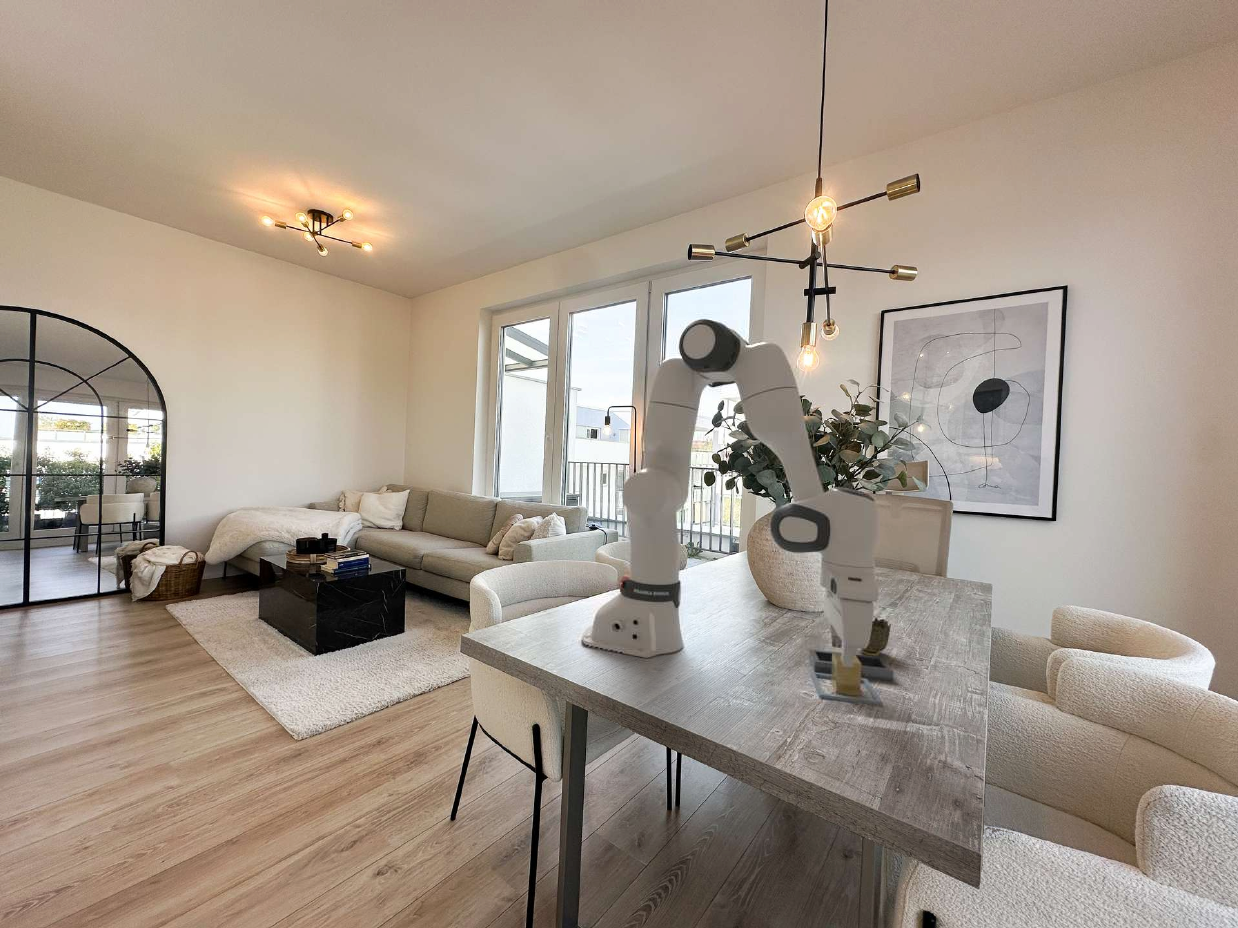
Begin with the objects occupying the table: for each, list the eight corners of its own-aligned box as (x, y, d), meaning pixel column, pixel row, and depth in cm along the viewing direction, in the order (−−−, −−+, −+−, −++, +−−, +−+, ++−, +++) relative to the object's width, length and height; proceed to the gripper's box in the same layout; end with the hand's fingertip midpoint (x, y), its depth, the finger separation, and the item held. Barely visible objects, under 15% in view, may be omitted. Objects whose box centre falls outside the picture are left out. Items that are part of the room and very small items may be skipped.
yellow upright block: (835, 694, 90) (837, 659, 90) (830, 685, 94) (832, 651, 94) (859, 698, 89) (861, 661, 89) (854, 688, 93) (855, 653, 93)
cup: (894, 665, 106) (895, 627, 106) (856, 661, 108) (857, 623, 108) (883, 652, 114) (884, 617, 114) (847, 649, 115) (849, 613, 115)
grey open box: (814, 677, 98) (814, 661, 98) (808, 663, 105) (808, 649, 105) (892, 686, 96) (893, 670, 96) (881, 672, 102) (882, 657, 102)
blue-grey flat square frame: (819, 703, 87) (819, 694, 87) (809, 679, 97) (810, 671, 97) (882, 711, 85) (882, 702, 85) (866, 686, 95) (866, 678, 95)
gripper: (818, 565, 102) (813, 634, 102) (839, 589, 82) (833, 674, 82) (852, 569, 101) (847, 638, 101) (882, 594, 81) (875, 681, 81)
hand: (841, 655), depth 91 cm, fingers open, 8 cm apart
